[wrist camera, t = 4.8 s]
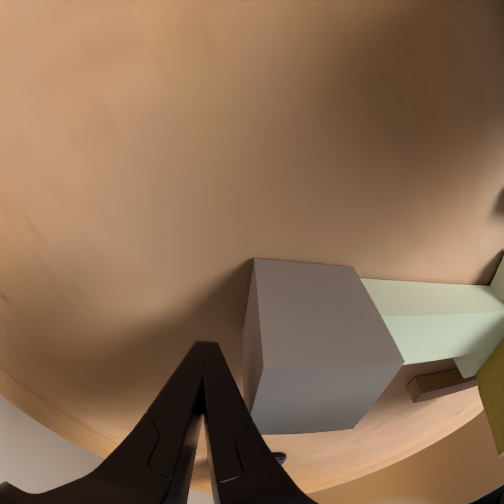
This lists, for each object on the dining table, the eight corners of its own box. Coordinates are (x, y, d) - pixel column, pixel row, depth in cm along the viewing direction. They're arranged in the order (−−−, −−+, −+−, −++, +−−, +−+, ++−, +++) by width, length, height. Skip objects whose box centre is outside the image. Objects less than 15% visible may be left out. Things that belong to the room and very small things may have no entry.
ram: (459, 351, 15) (490, 404, 11) (238, 361, 14) (239, 452, 9) (515, 250, 11) (566, 299, 7) (262, 207, 10) (280, 301, 5)
